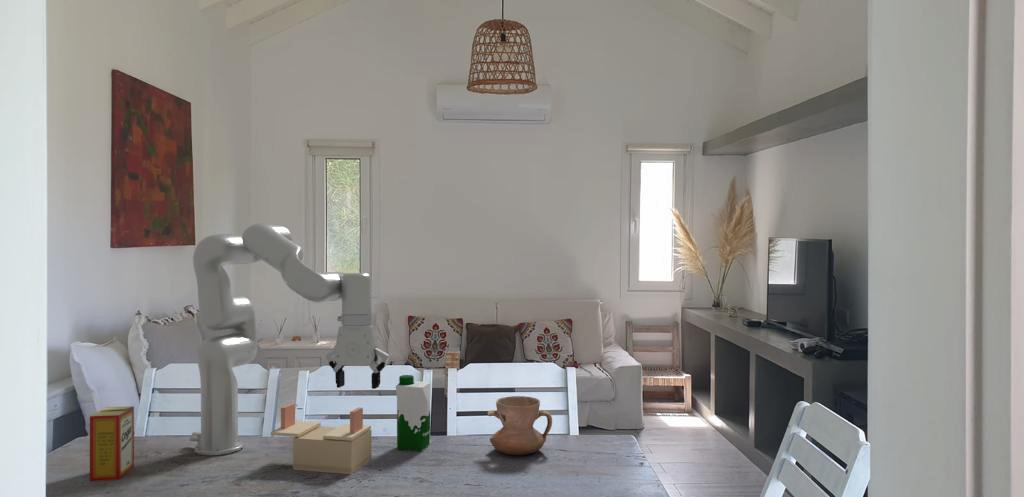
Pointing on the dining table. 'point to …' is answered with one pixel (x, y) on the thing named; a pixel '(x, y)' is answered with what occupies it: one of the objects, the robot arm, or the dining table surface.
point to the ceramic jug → (519, 425)
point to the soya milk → (413, 413)
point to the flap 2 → (349, 427)
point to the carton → (330, 452)
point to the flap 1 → (293, 423)
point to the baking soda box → (111, 443)
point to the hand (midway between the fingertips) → (357, 387)
